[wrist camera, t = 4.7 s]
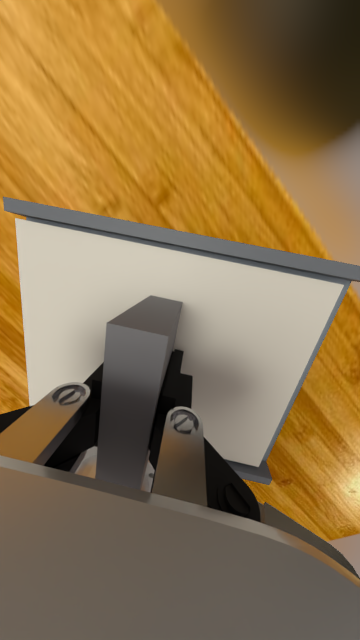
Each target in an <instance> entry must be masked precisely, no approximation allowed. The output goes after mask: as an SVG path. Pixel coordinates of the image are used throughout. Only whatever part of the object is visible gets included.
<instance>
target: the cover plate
mask: <svg viewBox="0 0 360 640" xmlns="http://www.w3.org/2000/svg"><path fill="white" fill-rule="evenodd" d="M15 222H16V235H17V248H18V261H19V274H20V287H21V300H22V313H23V326H24V338H25V351H26V364H27V377H28V390H29V403H30V406H32V405H35V404H36V403H37V402H39V401H40V400H41V399H42V398H43V397H45V396H46V395H47V394H48V393H49V392H51V391H52V390H53V389H55V388H56V387H58V386H60V385H62V384H66V383H71V382H79V383H84V382H85V380H86V379H87V378H88V377H89V376H90V375H91V374H92V373H93V372H94V371H95V370H96V369H97V368H98V367H99V366H100V365H101V364H102V363H103V362H104V365H103V379H102V392H101V406H100V420H99V434H98V447H97V461H96V475H95V479H98V480H102V481H106V482H110V483H114V484H118V485H122V486H126V487H130V488H134V489H138V490H141V488H142V484H143V480H144V476H145V472H146V468H147V464H148V460H149V455H150V450H149V445H150V440H151V435H152V429H153V424H154V419H155V414H156V409H157V404H158V399H159V394H160V391H161V387H162V384H163V380H164V377H165V374H166V370H167V367H168V363H169V360H170V357H171V353H172V351H174V350H175V349H177V350H181V351H184V353H183V359H182V365H181V371H180V373H182V374H187V375H191V376H193V382H192V406H191V409H192V410H194V411H195V412H196V413H197V414H198V415H199V416H200V418H201V420H202V423H203V436H204V437H205V438H206V440H207V441H208V442H209V443H210V444H211V445H212V446H213V447H214V449H215V450H216V451H217V452H218V453H219V454H220V455H221V456H222V458H223V459H227V460H231V461H235V462H239V463H243V464H248V465H252V466H256V467H259V465H260V463H261V461H262V459H263V457H264V454H265V452H266V450H267V448H268V446H269V444H270V442H271V440H272V437H273V435H274V433H275V431H276V429H277V427H278V425H279V423H280V420H281V418H282V416H283V414H284V412H285V410H286V408H287V406H288V403H289V401H290V399H291V397H292V395H293V393H294V391H295V389H296V386H297V384H298V382H299V380H300V378H301V376H302V374H303V372H304V369H305V367H306V365H307V363H308V361H309V359H310V357H311V355H312V352H313V350H314V348H315V346H316V344H317V342H318V340H319V338H320V335H321V333H322V331H323V329H324V327H325V325H326V323H327V321H328V318H329V316H330V314H331V312H332V310H333V308H334V306H335V304H336V301H337V299H338V297H339V295H340V293H341V291H342V289H343V287H344V285H342V284H337V283H333V282H328V281H323V280H318V279H313V278H308V277H303V276H298V275H293V274H288V273H283V272H278V271H273V270H268V269H263V268H259V267H254V266H249V265H244V264H239V263H234V262H229V261H224V260H219V259H214V258H209V257H204V256H199V255H194V254H190V253H185V252H180V251H175V250H170V249H165V248H160V247H155V246H150V245H145V244H140V243H135V242H130V241H125V240H121V239H116V238H111V237H106V236H101V235H96V234H91V233H86V232H81V231H76V230H71V229H66V228H61V227H56V226H52V225H47V224H42V223H37V222H32V221H27V220H22V219H17V218H15Z"/></svg>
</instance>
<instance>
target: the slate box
mask: <svg viewBox="0 0 360 640" xmlns="http://www.w3.org/2000/svg"><path fill="white" fill-rule="evenodd" d="M3 201H4V211H8V212H11V213H15V214H18V215H22V216H25V217H27V221H32V222H37V223H42V224H47V225H52V226H56V227H61V228H66V229H71V230H76V231H81V232H86V233H91V234H96V235H101V236H106V237H111V238H116V239H121V240H125V241H130V242H135V243H140V244H145V245H150V246H155V247H160V248H165V249H170V250H175V251H180V252H185V253H190V254H194V255H199V256H204V257H209V258H214V259H219V260H224V261H229V262H234V263H239V264H244V265H249V266H254V267H259V268H263V269H268V270H273V271H278V272H283V273H288V274H293V275H298V276H303V277H308V278H313V279H318V280H323V281H328V282H333V283H337V284H342V285H344V287H343V289H342V291H341V293H340V295H339V297H338V299H337V301H336V304H335V306H334V308H333V310H332V312H331V314H330V316H329V318H328V321H327V323H326V325H325V327H324V329H323V331H322V333H321V335H320V338H319V340H318V342H317V344H316V346H315V348H314V350H313V352H312V355H311V357H310V359H309V361H308V363H307V365H306V367H305V369H304V372H303V374H302V376H301V378H300V380H299V382H298V384H297V386H296V389H295V391H294V393H293V395H292V397H291V399H290V401H289V403H288V406H287V408H286V410H285V412H284V414H283V416H282V418H281V420H280V423H279V425H278V427H277V429H276V431H275V433H274V435H273V437H272V440H271V442H270V444H269V446H268V448H267V450H266V452H265V454H264V457H263V459H262V461H261V463H260V465H259V467H256V466H252V465H248V464H243V463H239V462H235V461H231V460H227V459H224V460H225V461H226V462H227V463H228V464H229V465H230V467H231V468H232V469H233V470H234V471H235V472H236V473H237V474H238V475H239V477H240V478H242V479H246V480H250V481H254V482H259V483H263V484H267V485H270V483H271V481H272V477H271V475H270V472H269V469H268V466H267V463H266V460H267V458H268V456H269V454H270V451H271V449H272V447H273V445H274V443H275V441H276V439H277V437H278V435H279V433H280V430H281V428H282V426H283V424H284V422H285V420H286V418H287V416H288V414H289V411H290V409H291V407H292V405H293V403H294V401H295V399H296V397H297V395H298V393H299V390H300V388H301V386H302V384H303V382H304V380H305V378H306V376H307V374H308V371H309V369H310V367H311V365H312V363H313V361H314V359H315V357H316V355H317V353H318V350H319V348H320V346H321V344H322V342H323V340H324V338H325V336H326V334H327V331H328V329H329V327H330V325H331V323H332V321H333V319H334V317H335V315H336V313H337V310H338V308H339V306H340V304H341V302H342V300H343V298H344V296H345V294H346V292H347V289H348V287H349V285H350V283H351V281H357V282H360V266H357V265H352V264H347V263H342V262H337V261H331V260H326V259H321V258H316V257H311V256H306V255H300V254H295V253H290V252H285V251H280V250H275V249H270V248H264V247H259V246H254V245H249V244H244V243H239V242H234V241H228V240H223V239H218V238H213V237H208V236H203V235H198V234H192V233H187V232H182V231H177V230H172V229H167V228H161V227H156V226H151V225H146V224H141V223H136V222H131V221H125V220H120V219H115V218H110V217H105V216H100V215H95V214H89V213H84V212H79V211H74V210H69V209H64V208H58V207H53V206H48V205H43V204H38V203H33V202H28V201H22V200H17V199H12V198H7V197H3Z"/></svg>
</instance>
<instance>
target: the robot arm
mask: <svg viewBox="0 0 360 640" xmlns="http://www.w3.org/2000/svg"><path fill="white" fill-rule="evenodd" d="M183 353H184V351H181V350H177V349H175V350H174V351H172V353H171V357H170V360H169V363H168V367H167V370H166V374H165V377H164V380H163V384H162V387H161V391H160V394H159V399H158V404H157V409H156V414H155V419H154V424H153V429H152V435H151V440H150V445H149V450H150V455H149V460H148V464H147V468H146V472H145V476H144V480H143V484H142V488H141V490H138V489H134V488H130V487H126V486H122V485H118V484H114V483H110V482H106V481H102V480H98V479H95V475H96V461H97V447H98V434H99V420H100V406H101V392H102V379H103V365H104V362H103V363H102V364H101V365H100V366H99V367H98V368H97V369H96V370H95V371H94V372H93V373H92V374H91V375H90V376H89V377H88V378H87V379H86V380H85V382H84V383H79V382H71V383H66V384H62V385H60V386H58V387H56V388H55V389H53V390H52V391H51V392H49V393H48V394H47V395H46V396H45V397H43V398H42V399H41V400H40V401H39V402H37V403H36V404H35V405H32V406H29V407H25V408H22V409H18V410H15V411H11V412H8V413H4V414H1V415H0V640H360V578H359V576H358V574H357V573H356V571H355V570H354V568H353V566H352V565H351V564H350V563H349V562H348V561H347V559H346V558H345V557H344V556H343V555H342V554H341V553H340V552H339V551H338V550H337V549H335V548H334V547H333V546H332V545H330V544H329V543H327V542H326V541H324V540H323V539H321V538H320V537H318V536H317V535H315V534H314V533H312V532H311V531H309V530H307V529H306V528H304V527H303V526H301V525H300V524H298V523H297V522H295V521H294V520H292V519H291V518H289V517H288V516H286V515H285V514H283V513H281V512H280V511H278V510H277V509H275V508H274V507H272V506H271V505H269V504H268V503H266V502H265V503H264V505H262V504H261V503H259V502H258V501H257V500H256V498H255V496H254V494H253V492H252V491H251V490H250V488H249V487H248V486H247V484H246V483H245V482H244V481H243V480H242V479H241V478H240V477H239V475H238V474H237V473H236V472H235V471H234V470H233V469H232V468H231V467H230V465H229V464H228V463H227V462H226V461H225V460H224V459H223V458H222V456H221V455H220V454H219V453H218V452H217V451H216V450H215V449H214V447H213V446H212V445H211V444H210V443H209V442H208V441H207V440H206V438H205V437H204V436H203V423H202V420H201V418H200V416H199V415H198V414H197V413H196V412H195V411H194V410H192V409H191V406H192V382H193V376H191V375H187V374H182V373H180V371H181V365H182V359H183Z"/></svg>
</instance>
